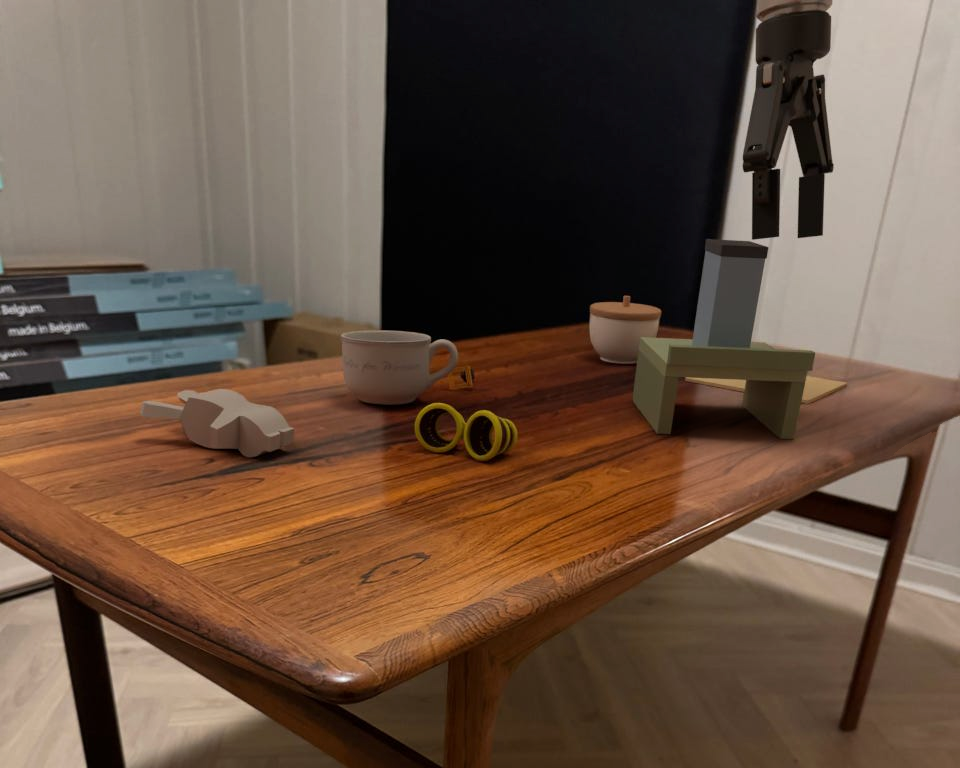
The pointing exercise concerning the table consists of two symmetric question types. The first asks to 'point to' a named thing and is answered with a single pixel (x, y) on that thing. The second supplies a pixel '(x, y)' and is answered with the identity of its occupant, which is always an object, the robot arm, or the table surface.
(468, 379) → the framed picture
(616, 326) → the trinket box
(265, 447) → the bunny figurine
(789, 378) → the stool
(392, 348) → the teacup
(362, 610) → the table surface
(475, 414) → the opera glasses
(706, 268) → the dark-capped grey pillar
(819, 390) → the mat
